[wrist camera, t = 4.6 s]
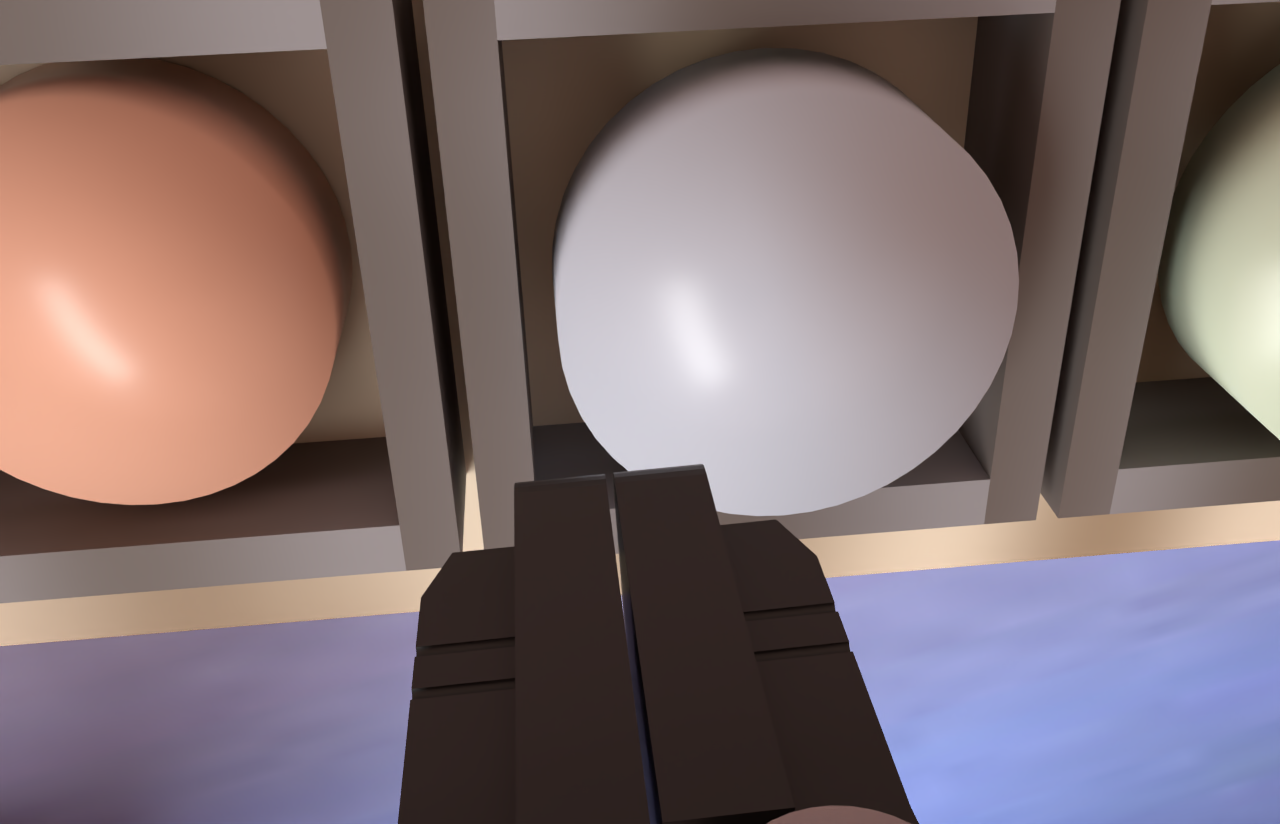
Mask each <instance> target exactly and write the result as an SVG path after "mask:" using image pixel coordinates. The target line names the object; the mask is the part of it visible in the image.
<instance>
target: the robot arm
mask: <svg viewBox="0 0 1280 824" xmlns="http://www.w3.org/2000/svg"><path fill="white" fill-rule="evenodd" d="M613 489H614V502H615V514H616V527H617V539H618V551H619V563H620V576H621V588H622V600H623V609H622V601H621V593H620V585H619V577H618V570H617V562H616V554H615V546H614V539H613V531H612V523H611V515H610V508H609V500H608V492H607V484H606V477H605V474H598V475H588V476H578V477H567V478H557V479H547V480H537V481H527V482H517V483H515V484H514V546H513V547H503V548H493V549H484V550H474V551H464V552H454V553H452V554H451V555H450V557H449V558H448V560H447V561H446V562H445V564H444V565H443V567H442V568H441V570H440V571H439V572H438V574H437V575H436V577H435V578H434V580H433V581H432V582H431V584H430V585H429V587H428V588H427V589H426V591H425V592H424V594H423V595H422V597H421V602H420V611H419V621H418V631H417V641H416V652H417V657H415V661H414V670H413V680H412V700H410V710H409V720H408V729H407V739H406V749H405V759H404V769H403V778H402V788H401V798H400V808H399V818H398V824H919V823H918V821H917V819H916V817H915V815H914V813H913V811H912V809H911V806H910V804H909V801H908V799H907V796H906V793H905V791H904V788H903V785H902V783H901V780H900V777H899V775H898V772H897V769H896V767H895V764H894V761H893V759H892V756H891V753H890V750H889V748H888V745H887V742H886V740H885V737H884V734H883V732H882V729H881V726H880V724H879V721H878V718H877V716H876V713H875V710H874V707H873V705H872V702H871V699H870V697H869V694H868V691H867V689H866V686H865V683H864V681H863V678H862V675H861V673H860V670H859V667H858V664H857V662H856V659H855V656H854V654H853V652H850V648H849V640H848V638H847V635H846V632H845V630H844V627H843V624H842V621H841V619H840V616H839V613H838V612H836V611H835V605H834V600H833V597H832V595H831V592H830V589H829V587H828V584H827V581H826V579H825V576H824V573H823V570H822V568H821V565H820V562H819V560H818V557H817V555H815V554H814V553H813V552H812V551H811V550H810V549H809V548H808V547H807V546H805V545H804V544H803V543H802V542H801V541H800V540H799V539H798V538H796V537H795V536H794V535H793V534H792V533H791V532H790V531H789V530H788V529H786V528H785V527H784V526H783V525H782V524H781V523H780V522H779V521H777V520H776V519H775V520H765V521H755V522H745V523H735V524H726V525H720V523H719V519H718V515H717V511H716V507H715V504H714V500H713V496H712V492H711V489H710V485H709V481H708V477H707V474H706V470H705V467H704V465H703V464H695V465H685V466H675V467H665V468H655V469H645V470H635V471H625V472H614V473H613ZM623 613H624V616H623Z"/></svg>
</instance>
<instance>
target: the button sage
mask: <svg viewBox="0 0 1280 824" xmlns="http://www.w3.org/2000/svg"><path fill="white" fill-rule="evenodd" d="M1158 283H1159V289H1160V295H1161V302H1162V306H1163V309H1164V312H1165V315H1166V318H1167V321H1168V324H1169V326H1170V328H1171V330H1172V331H1173V333H1174V335H1175V337H1176V339H1177V341H1178V342H1179V344H1180V345H1181V346H1182V348H1183V349H1184V350H1185V351H1186V353H1187V354H1188V355H1189V357H1190V358H1191V359H1192V360H1193V361H1195V362H1196V363H1197V364H1198V365H1199V366H1200V367H1201V368H1202V369H1203V370H1204V371H1205V372H1206V373H1208V374H1209V375H1210V376H1211V377H1212V378H1213V379H1214V380H1215V381H1216V382H1217V383H1218V384H1219V385H1220V386H1222V387H1223V388H1224V389H1225V390H1226V391H1227V392H1228V393H1229V394H1230V395H1231V396H1232V397H1233V398H1235V399H1236V400H1237V401H1238V402H1239V403H1240V404H1241V405H1242V406H1243V407H1244V408H1245V409H1246V410H1248V411H1249V412H1250V413H1251V414H1252V415H1253V416H1254V417H1255V418H1256V419H1257V420H1258V421H1259V422H1260V423H1262V424H1263V425H1264V426H1265V427H1266V428H1267V429H1268V430H1269V431H1270V432H1271V433H1273V434H1274V435H1275V436H1276V437H1277V438H1278V439H1279V440H1280V64H1279V65H1278V66H1276V67H1275V68H1273V69H1272V70H1271V71H1270V72H1268V73H1267V74H1266V75H1265V76H1263V77H1262V78H1261V79H1260V80H1258V81H1257V82H1256V83H1255V84H1254V85H1252V86H1251V87H1250V88H1249V89H1248V90H1247V91H1246V92H1245V93H1244V94H1243V95H1242V96H1241V97H1240V98H1239V99H1238V100H1237V101H1236V102H1235V103H1234V104H1233V105H1232V106H1231V107H1230V108H1229V109H1228V110H1227V111H1226V112H1225V113H1224V114H1223V116H1222V117H1221V118H1220V119H1219V120H1218V122H1217V123H1216V124H1215V125H1214V126H1213V128H1212V129H1211V130H1210V131H1209V132H1208V134H1207V135H1206V137H1205V138H1204V140H1203V141H1202V143H1201V144H1200V146H1199V147H1198V149H1197V150H1196V152H1195V153H1194V155H1193V156H1192V158H1191V160H1190V162H1189V163H1188V165H1187V167H1186V169H1185V171H1184V173H1183V175H1182V177H1181V178H1180V180H1179V182H1178V185H1177V187H1176V190H1175V192H1174V195H1173V199H1172V204H1171V209H1170V214H1169V219H1168V224H1167V229H1166V234H1165V239H1164V244H1163V249H1162V254H1161V259H1160V264H1159V269H1158Z"/></svg>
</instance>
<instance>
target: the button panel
mask: <svg viewBox="0 0 1280 824" xmlns="http://www.w3.org/2000/svg"><path fill="white" fill-rule="evenodd" d="M759 48H796V49H802V50H808V51H815V52H821V53H825V54H829V55H832V56H835V57H838V58H842V59H845V60H848V61H851V62H853V63H855V64H857V65H859V66H862V67H864V68H866V69H868V70H870V71H872V72H874V73H876V74H877V75H879V76H880V77H882V78H883V79H885V80H886V81H888V82H889V83H891V84H892V85H894V86H896V87H897V88H898V89H899V90H900V91H901V92H903V93H904V94H905V95H906V96H907V97H908V98H909V99H910V100H911V101H912V102H914V103H915V104H916V105H917V106H918V107H919V108H920V109H921V110H922V111H923V112H924V113H926V114H927V115H928V116H929V117H930V118H931V119H932V120H933V121H934V122H935V123H936V124H937V125H938V126H940V127H941V128H942V129H943V130H944V131H945V132H946V133H947V134H948V135H949V136H950V137H951V138H952V139H954V140H955V141H956V142H957V143H958V144H959V145H960V146H961V147H962V148H963V149H964V150H965V151H966V152H968V153H969V154H970V156H971V157H972V158H973V159H974V161H975V162H976V163H977V164H978V166H979V167H980V168H981V169H982V171H983V172H984V173H985V174H986V175H987V177H988V179H989V180H990V182H991V184H992V186H993V187H994V189H995V191H996V192H997V194H998V196H999V198H1000V199H1001V201H1002V204H1003V207H1004V209H1005V212H1006V214H1007V217H1008V219H1009V222H1010V225H1011V228H1012V232H1013V237H1014V241H1015V246H1016V250H1017V258H1018V272H1019V289H1018V303H1017V311H1016V316H1015V321H1014V326H1013V330H1012V335H1011V338H1010V341H1009V344H1008V347H1007V350H1006V352H1005V355H1004V358H1003V361H1002V363H1001V365H1000V367H999V369H998V371H997V373H996V375H995V377H994V379H993V381H992V383H991V385H990V387H989V389H988V390H987V392H986V393H985V395H984V396H983V398H982V399H981V401H980V402H979V404H978V406H977V407H976V409H975V410H974V411H973V412H972V414H971V415H970V416H969V417H968V418H967V420H966V421H965V422H964V423H963V425H962V426H961V427H960V428H959V429H958V431H957V432H956V433H955V434H954V435H953V436H952V437H950V438H949V439H948V440H947V441H946V442H945V443H944V444H943V445H942V446H941V447H940V448H939V449H938V450H937V451H936V452H935V453H933V454H932V455H931V456H929V457H928V458H927V459H926V460H924V461H923V462H922V463H920V464H919V465H918V466H917V467H915V468H914V469H912V470H911V471H909V472H908V473H906V474H904V475H903V476H901V477H899V478H898V479H896V480H895V481H893V482H891V483H890V484H888V485H886V486H883V487H881V488H879V489H877V490H875V491H873V492H871V493H869V494H867V495H865V496H862V497H859V498H857V499H854V500H851V501H848V502H845V503H843V504H840V505H837V506H832V507H828V508H824V509H820V510H816V511H812V512H805V513H798V514H790V515H780V516H750V515H738V514H728V513H723V512H718V511H717V515H718V519H719V523H720V525H726V524H735V523H745V522H755V521H765V520H775V519H776V520H777V521H779V522H780V523H781V524H782V525H783V526H784V527H785V528H786V529H788V530H789V531H790V532H791V533H792V534H793V535H794V536H795V537H796V538H798V539H799V540H800V541H801V542H802V543H803V544H804V545H805V546H807V547H808V548H809V549H810V550H811V551H812V552H813V553H814V554H815V555H817V557H818V560H819V562H820V565H821V568H822V570H823V573H824V576H825V578H829V577H841V576H853V575H865V574H877V573H889V572H901V571H913V570H925V569H938V568H950V567H962V566H974V565H986V564H998V563H1010V562H1022V561H1034V560H1046V559H1058V558H1070V557H1082V556H1094V555H1106V554H1119V553H1131V552H1143V551H1155V550H1167V549H1179V548H1191V547H1203V546H1215V545H1227V544H1239V543H1251V542H1263V541H1275V540H1280V440H1279V439H1278V438H1277V437H1276V436H1275V435H1274V434H1273V433H1271V432H1270V431H1269V430H1268V429H1267V428H1266V427H1265V426H1264V425H1263V424H1262V423H1260V422H1259V421H1258V420H1257V419H1256V418H1255V417H1254V416H1253V415H1252V414H1251V413H1250V412H1249V411H1248V410H1246V409H1245V408H1244V407H1243V406H1242V405H1241V404H1240V403H1239V402H1238V401H1237V400H1236V399H1235V398H1233V397H1232V396H1231V395H1230V394H1229V393H1228V392H1227V391H1226V390H1225V389H1224V388H1223V387H1222V386H1220V385H1219V384H1218V383H1217V382H1216V381H1215V380H1214V379H1213V378H1212V377H1211V376H1210V375H1209V374H1208V373H1206V372H1205V371H1204V370H1203V369H1202V368H1201V367H1200V366H1199V365H1198V364H1197V363H1196V362H1195V361H1193V360H1192V359H1191V358H1190V357H1189V355H1188V354H1187V353H1186V351H1185V350H1184V349H1183V348H1182V346H1181V345H1180V344H1179V342H1178V341H1177V339H1176V337H1175V335H1174V333H1173V331H1172V330H1171V328H1170V326H1169V324H1168V321H1167V318H1166V315H1165V312H1164V309H1163V306H1162V302H1161V295H1160V289H1159V283H1158V269H1159V264H1160V259H1161V254H1162V249H1163V244H1164V239H1165V234H1166V229H1167V224H1168V219H1169V214H1170V209H1171V204H1172V199H1173V195H1174V192H1175V190H1176V187H1177V185H1178V182H1179V180H1180V178H1181V177H1182V175H1183V173H1184V171H1185V169H1186V167H1187V165H1188V163H1189V162H1190V160H1191V158H1192V156H1193V155H1194V153H1195V152H1196V150H1197V149H1198V147H1199V146H1200V144H1201V143H1202V141H1203V140H1204V138H1205V137H1206V135H1207V134H1208V132H1209V131H1210V130H1211V129H1212V128H1213V126H1214V125H1215V124H1216V123H1217V122H1218V120H1219V119H1220V118H1221V117H1222V116H1223V114H1224V113H1225V112H1226V111H1227V110H1228V109H1229V108H1230V107H1231V106H1232V105H1233V104H1234V103H1235V102H1236V101H1237V100H1238V99H1239V98H1240V97H1241V96H1242V95H1243V94H1244V93H1245V92H1246V91H1247V90H1248V89H1249V88H1250V87H1251V86H1252V85H1254V84H1255V83H1256V82H1257V81H1258V80H1260V79H1261V78H1262V77H1263V76H1265V75H1266V74H1267V73H1268V72H1270V71H1271V70H1272V69H1273V68H1275V67H1276V66H1278V65H1279V64H1280V0H0V86H1V85H3V84H4V83H6V82H7V81H9V80H11V79H12V78H14V77H16V76H18V75H20V74H22V73H25V72H27V71H29V70H32V69H34V68H37V67H39V66H41V65H45V64H49V63H54V62H74V61H94V60H114V59H134V58H151V59H158V60H161V61H165V62H169V63H173V64H176V65H180V66H184V67H187V68H190V69H193V70H195V71H198V72H200V73H203V74H205V75H208V76H210V77H213V78H215V79H217V80H219V81H221V82H223V83H225V84H226V85H228V86H230V87H232V88H234V89H236V90H238V91H239V92H241V93H243V94H244V95H246V96H247V97H249V98H250V99H252V100H253V101H254V102H256V103H257V104H259V105H260V106H262V107H263V108H264V109H266V110H267V111H268V112H269V113H271V114H272V115H273V116H274V117H275V118H276V119H277V120H279V121H280V122H281V123H282V124H283V125H284V126H285V127H286V128H288V129H289V130H290V132H291V133H292V134H293V135H294V136H295V137H296V138H297V139H298V140H299V142H300V143H301V144H302V145H303V146H304V147H305V148H306V149H307V151H308V152H309V153H310V155H311V156H312V158H313V159H314V161H315V162H316V163H317V165H318V166H319V168H320V169H321V171H322V172H323V173H324V175H325V177H326V179H327V181H328V183H329V185H330V187H331V189H332V190H333V192H334V194H335V196H336V199H337V201H338V204H339V207H340V209H341V212H342V215H343V217H344V220H345V224H346V228H347V233H348V237H349V241H350V246H351V258H352V285H351V295H350V300H349V305H348V309H347V314H346V318H345V322H344V326H343V329H342V333H341V337H340V341H339V345H338V349H337V352H336V356H335V360H334V364H333V368H332V371H331V375H330V379H329V382H328V385H327V387H326V390H325V392H324V395H323V398H322V400H321V403H320V405H319V406H318V408H317V410H316V412H315V414H314V415H313V417H312V419H311V421H310V422H309V424H308V425H307V427H306V428H305V429H304V430H303V432H302V433H301V434H300V435H299V437H298V438H297V439H296V441H295V442H294V443H293V444H292V445H291V446H290V447H289V448H288V449H287V450H286V451H284V452H283V453H282V454H281V455H280V456H279V457H278V458H277V459H276V460H275V461H273V462H272V463H270V464H269V465H268V466H266V467H265V468H263V469H262V470H261V471H259V472H258V473H256V474H255V475H253V476H251V477H249V478H247V479H245V480H243V481H241V482H239V483H238V484H236V485H234V486H231V487H228V488H226V489H223V490H220V491H218V492H215V493H213V494H210V495H206V496H202V497H198V498H194V499H190V500H186V501H179V502H172V503H164V504H153V505H123V504H111V503H100V502H95V501H89V500H84V499H78V498H73V497H69V496H66V495H62V494H59V493H56V492H52V491H49V490H45V489H42V488H40V487H37V486H35V485H32V484H30V483H27V482H25V481H22V480H20V479H17V478H15V477H13V476H11V475H10V474H8V473H6V472H4V471H2V470H0V646H8V645H20V644H32V643H44V642H57V641H69V640H81V639H93V638H105V637H117V636H129V635H141V634H153V633H165V632H177V631H189V630H201V629H213V628H226V627H238V626H250V625H262V624H274V623H286V622H298V621H310V620H322V619H334V618H346V617H358V616H370V615H382V614H394V613H407V612H419V611H420V602H421V597H422V595H423V594H424V592H425V591H426V589H427V588H428V587H429V585H430V584H431V582H432V581H433V580H434V578H435V577H436V575H437V574H438V572H439V571H440V570H441V568H442V567H443V565H444V564H445V562H446V561H447V560H448V558H449V557H450V555H451V554H452V553H454V552H464V551H474V550H484V549H493V548H503V547H513V546H514V484H515V483H517V482H527V481H537V480H547V479H557V478H567V477H578V476H588V475H598V474H605V477H606V484H607V492H608V500H609V508H610V515H611V523H612V531H613V539H614V546H615V554H616V562H617V570H618V577H619V585H620V593H621V595H622V588H621V576H620V563H619V551H618V539H617V527H616V514H615V502H614V489H613V473H614V472H625V471H628V470H626V469H625V468H624V467H623V466H622V465H621V464H619V463H618V462H617V461H616V460H615V459H614V458H612V456H611V455H610V454H609V453H608V452H607V451H606V450H605V448H604V447H603V446H602V445H601V444H600V443H599V442H598V441H597V439H596V438H595V437H594V435H593V434H592V432H591V431H590V429H589V428H588V426H587V425H586V423H585V422H584V420H583V419H582V417H581V415H580V413H579V411H578V409H577V407H576V405H575V402H574V400H573V398H572V396H571V394H570V391H569V388H568V385H567V381H566V378H565V374H564V371H563V368H562V362H561V355H560V348H559V341H558V331H557V320H556V309H555V297H554V286H553V275H552V245H553V238H554V231H555V224H556V219H557V215H558V212H559V209H560V205H561V202H562V198H563V195H564V192H565V190H566V188H567V185H568V183H569V181H570V179H571V176H572V174H573V172H574V170H575V168H576V166H577V165H578V163H579V161H580V160H581V158H582V156H583V155H584V153H585V151H586V150H587V148H588V146H589V145H590V144H591V142H592V141H593V140H594V139H595V137H596V136H597V135H598V134H599V132H600V131H601V130H602V129H603V127H604V126H605V125H606V124H607V123H608V121H610V120H611V119H612V118H613V117H614V116H615V115H616V114H617V113H618V112H619V111H620V110H621V109H622V108H623V107H624V106H625V105H626V104H627V103H628V102H630V101H631V100H632V99H634V98H635V97H636V96H638V95H639V94H640V93H642V92H643V91H644V90H646V89H647V88H649V87H650V86H651V85H653V84H654V83H656V82H658V81H660V80H662V79H663V78H665V77H667V76H669V75H671V74H672V73H674V72H676V71H678V70H680V69H682V68H685V67H687V66H690V65H692V64H695V63H697V62H700V61H702V60H705V59H708V58H711V57H715V56H719V55H723V54H727V53H731V52H735V51H743V50H751V49H759Z"/></svg>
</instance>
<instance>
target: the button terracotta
mask: <svg viewBox="0 0 1280 824" xmlns="http://www.w3.org/2000/svg"><path fill="white" fill-rule="evenodd" d="M351 285H352V258H351V246H350V241H349V237H348V233H347V228H346V224H345V220H344V217H343V215H342V212H341V209H340V207H339V204H338V201H337V199H336V196H335V194H334V192H333V190H332V189H331V187H330V185H329V183H328V181H327V179H326V177H325V175H324V173H323V172H322V171H321V169H320V168H319V166H318V165H317V163H316V162H315V161H314V159H313V158H312V156H311V155H310V153H309V152H308V151H307V149H306V148H305V147H304V146H303V145H302V144H301V143H300V142H299V140H298V139H297V138H296V137H295V136H294V135H293V134H292V133H291V132H290V130H289V129H288V128H286V127H285V126H284V125H283V124H282V123H281V122H280V121H279V120H277V119H276V118H275V117H274V116H273V115H272V114H271V113H269V112H268V111H267V110H266V109H264V108H263V107H262V106H260V105H259V104H257V103H256V102H254V101H253V100H252V99H250V98H249V97H247V96H246V95H244V94H243V93H241V92H239V91H238V90H236V89H234V88H232V87H230V86H228V85H226V84H225V83H223V82H221V81H219V80H217V79H215V78H213V77H210V76H208V75H205V74H203V73H200V72H198V71H195V70H193V69H190V68H187V67H184V66H180V65H176V64H173V63H169V62H165V61H161V60H158V59H151V58H134V59H114V60H94V61H74V62H54V63H49V64H45V65H41V66H39V67H37V68H34V69H32V70H29V71H27V72H25V73H22V74H20V75H18V76H16V77H14V78H12V79H11V80H9V81H7V82H6V83H4V84H3V85H1V86H0V470H2V471H4V472H6V473H8V474H10V475H11V476H13V477H15V478H17V479H20V480H22V481H25V482H27V483H30V484H32V485H35V486H37V487H40V488H42V489H45V490H49V491H52V492H56V493H59V494H62V495H66V496H69V497H73V498H78V499H84V500H89V501H95V502H100V503H111V504H123V505H153V504H164V503H172V502H179V501H186V500H190V499H194V498H198V497H202V496H206V495H210V494H213V493H215V492H218V491H220V490H223V489H226V488H228V487H231V486H234V485H236V484H238V483H239V482H241V481H243V480H245V479H247V478H249V477H251V476H253V475H255V474H256V473H258V472H259V471H261V470H262V469H263V468H265V467H266V466H268V465H269V464H270V463H272V462H273V461H275V460H276V459H277V458H278V457H279V456H280V455H281V454H282V453H283V452H284V451H286V450H287V449H288V448H289V447H290V446H291V445H292V444H293V443H294V442H295V441H296V439H297V438H298V437H299V435H300V434H301V433H302V432H303V430H304V429H305V428H306V427H307V425H308V424H309V422H310V421H311V419H312V417H313V415H314V414H315V412H316V410H317V408H318V406H319V405H320V403H321V400H322V398H323V395H324V392H325V390H326V387H327V385H328V382H329V379H330V375H331V371H332V368H333V364H334V360H335V356H336V352H337V349H338V345H339V341H340V337H341V333H342V329H343V326H344V322H345V318H346V314H347V309H348V305H349V300H350V295H351Z"/></svg>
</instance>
